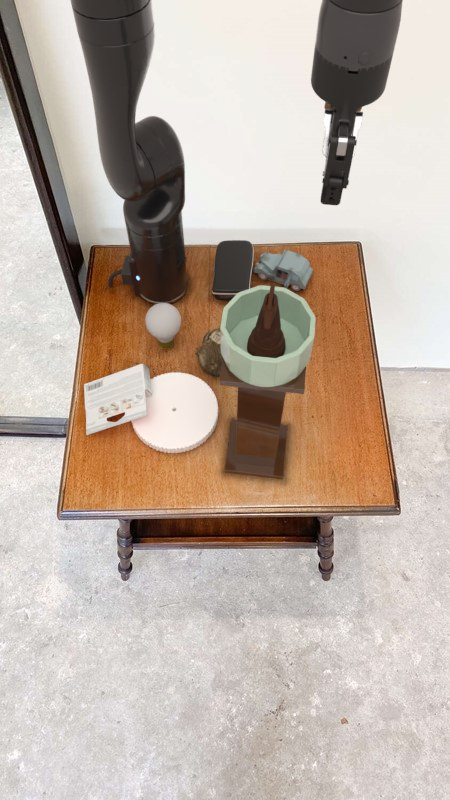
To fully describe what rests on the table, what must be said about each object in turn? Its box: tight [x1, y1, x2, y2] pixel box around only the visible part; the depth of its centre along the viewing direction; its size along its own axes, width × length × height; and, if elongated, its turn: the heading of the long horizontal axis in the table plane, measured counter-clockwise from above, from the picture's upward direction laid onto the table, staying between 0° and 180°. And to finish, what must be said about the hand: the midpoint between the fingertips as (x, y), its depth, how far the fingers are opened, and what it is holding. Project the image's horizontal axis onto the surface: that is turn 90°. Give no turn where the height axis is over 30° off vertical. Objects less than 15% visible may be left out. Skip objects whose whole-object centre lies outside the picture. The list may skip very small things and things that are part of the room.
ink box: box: [83, 363, 152, 436], centre depth 103 cm, size 2×11×10 cm
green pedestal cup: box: [218, 284, 317, 480], centre depth 88 cm, size 11×11×34 cm
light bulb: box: [144, 303, 182, 350], centre depth 108 cm, size 6×6×10 cm
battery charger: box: [211, 239, 255, 301], centre depth 118 cm, size 7×4×11 cm
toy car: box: [253, 249, 314, 292], centre depth 117 cm, size 6×10×5 cm, turn 66°
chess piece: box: [247, 284, 286, 358], centre depth 73 cm, size 5×5×10 cm
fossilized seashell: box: [194, 327, 223, 377], centre depth 109 cm, size 8×7×10 cm
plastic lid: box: [130, 371, 219, 454], centre depth 104 cm, size 14×14×2 cm
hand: (331, 176), depth 76 cm, fingers open, 8 cm apart
